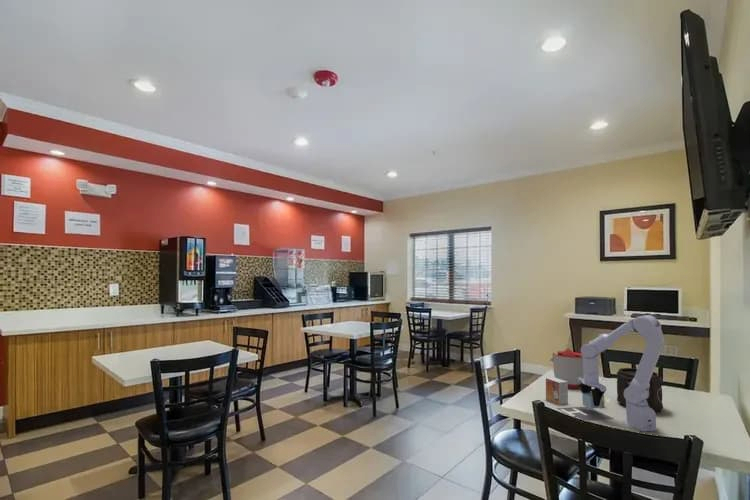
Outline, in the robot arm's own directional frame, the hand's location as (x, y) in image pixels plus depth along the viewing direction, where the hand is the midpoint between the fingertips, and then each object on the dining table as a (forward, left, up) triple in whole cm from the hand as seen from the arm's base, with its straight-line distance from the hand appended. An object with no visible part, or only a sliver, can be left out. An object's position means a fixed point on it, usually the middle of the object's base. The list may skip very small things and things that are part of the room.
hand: (591, 403), depth 165 cm
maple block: (+7, -9, -4) cm, 12 cm away
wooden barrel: (+4, -28, -4) cm, 29 cm away
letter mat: (-1, +5, -4) cm, 6 cm away
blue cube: (0, 0, -1) cm, 1 cm away
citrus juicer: (+39, -18, -4) cm, 43 cm away
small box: (+15, +6, -4) cm, 17 cm away
